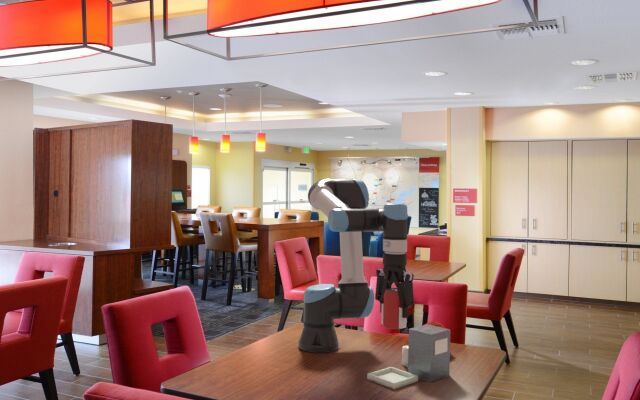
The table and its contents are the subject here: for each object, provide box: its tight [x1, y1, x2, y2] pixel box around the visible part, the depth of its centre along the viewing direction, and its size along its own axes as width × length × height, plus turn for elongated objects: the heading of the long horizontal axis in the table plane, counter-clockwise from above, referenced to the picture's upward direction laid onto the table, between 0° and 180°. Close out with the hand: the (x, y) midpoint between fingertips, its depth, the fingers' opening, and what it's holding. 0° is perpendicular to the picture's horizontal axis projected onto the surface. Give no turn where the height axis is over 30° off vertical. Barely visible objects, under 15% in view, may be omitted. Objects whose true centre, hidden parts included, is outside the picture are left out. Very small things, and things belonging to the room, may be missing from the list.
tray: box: [366, 366, 419, 390], centre depth 177 cm, size 11×11×2 cm
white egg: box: [401, 345, 408, 368], centre depth 193 cm, size 5×5×6 cm
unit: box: [407, 324, 451, 383], centre depth 183 cm, size 10×10×15 cm
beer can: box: [382, 287, 401, 330], centre depth 177 cm, size 7×7×12 cm
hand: (393, 325), depth 177 cm, fingers closed on beer can, 7 cm apart
